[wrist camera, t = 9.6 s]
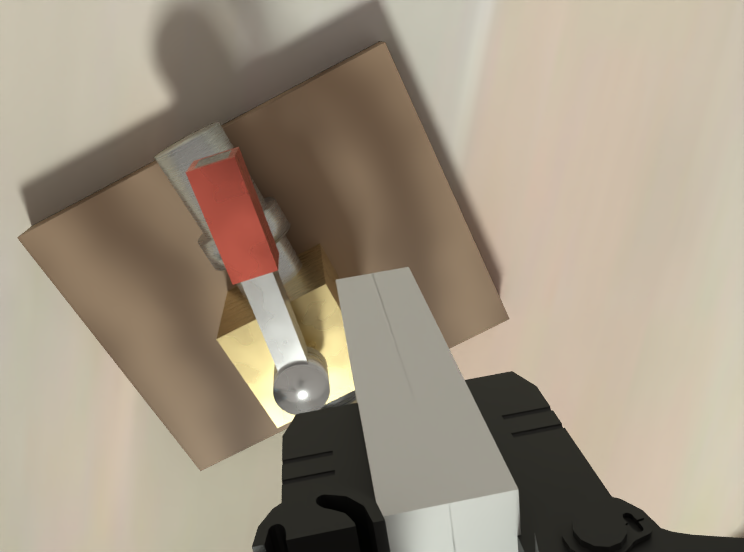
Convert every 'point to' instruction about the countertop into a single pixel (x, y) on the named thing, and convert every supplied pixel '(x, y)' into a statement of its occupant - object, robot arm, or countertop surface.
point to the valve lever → (259, 276)
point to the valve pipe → (299, 277)
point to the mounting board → (307, 229)
